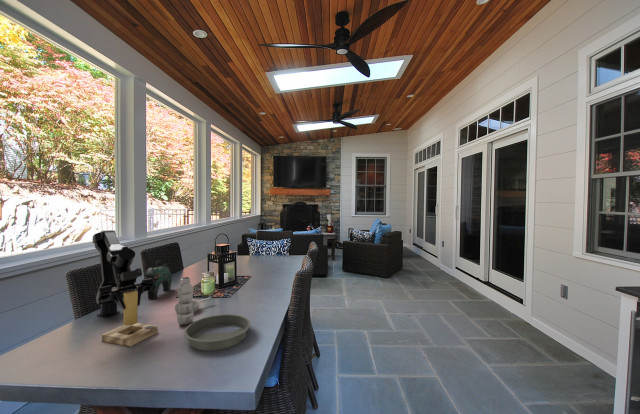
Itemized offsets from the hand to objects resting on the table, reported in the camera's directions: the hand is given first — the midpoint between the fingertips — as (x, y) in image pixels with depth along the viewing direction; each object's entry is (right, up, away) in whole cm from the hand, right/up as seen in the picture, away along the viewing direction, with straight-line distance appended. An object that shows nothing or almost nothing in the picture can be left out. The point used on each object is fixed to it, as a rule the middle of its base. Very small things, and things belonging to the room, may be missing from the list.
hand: (131, 307), depth 110 cm
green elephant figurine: (-19, -11, +52) cm, 56 cm away
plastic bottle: (+15, -12, +13) cm, 23 cm away
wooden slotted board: (-1, -12, +1) cm, 12 cm away
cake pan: (+33, -13, +2) cm, 36 cm away
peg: (-1, -7, +1) cm, 7 cm away
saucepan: (+11, -12, +30) cm, 34 cm away
